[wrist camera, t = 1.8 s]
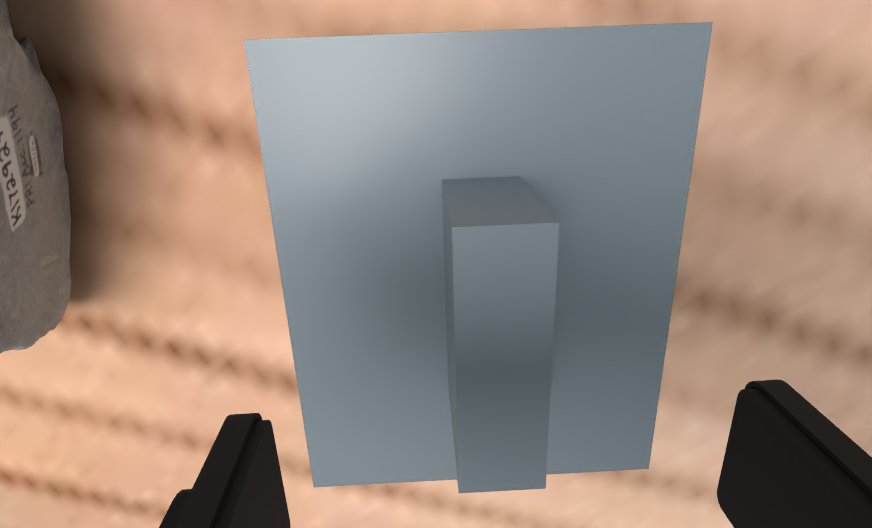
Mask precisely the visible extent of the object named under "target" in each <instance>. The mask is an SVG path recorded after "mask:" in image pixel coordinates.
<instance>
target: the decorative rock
mask: <svg viewBox="0 0 872 528" xmlns="http://www.w3.org/2000/svg"><path fill="white" fill-rule="evenodd" d="M70 231H71V215H70V202H69V186H68V176H67V172H66V170H65V164H64V155H63V131H62V124H61V118H60V112H59V108H58V105H57V100H56V98H55V96H54V94H53V92H52V90H51V88H50V85H49V83H48V82H47V80H46V78H45V77H44V75H43V74H42V72H41V71H40V66H39V62H38V58H37V54H36V52H35V50H34V48H33V45H32V43H31V41H30V39H29V38H22V39H18V38H16V37H15V36H13V32H12V27H11V21H10V15H9V8H8V0H0V353H1V352H3V351H8V350H21V349H26V348H28V347H30V346H32V345H33V344H34V343H35V342H36V341H37V340H38V339H39V338H41V337H43V336H45V335H46V334H47V333H48V332H49V331H50V330H52V329H55V327H56V326H57V325H58V323H59V322H60V321H61V320H62V317H63V315H64V313H65V310H66V308H67V305H68V301H69V297H70V292H71V276H70V262H69V255H70Z"/></svg>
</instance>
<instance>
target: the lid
mask: <svg viewBox="0 0 872 528" xmlns="http://www.w3.org/2000/svg"><path fill="white" fill-rule="evenodd" d="M712 23H713V22H703V23H676V24H649V25H623V26H596V27H570V28H543V29H517V30H490V31H463V32H437V33H410V34H384V35H357V36H331V37H304V38H278V39H251V40H244V45H245V51H246V58H247V64H248V71H249V77H250V83H251V90H252V96H253V102H254V109H255V115H256V122H257V128H258V134H259V141H260V147H261V154H262V160H263V166H264V173H265V179H266V185H267V192H268V198H269V205H270V211H271V217H272V224H273V230H274V237H275V243H276V249H277V256H278V262H279V268H280V275H281V281H282V288H283V294H284V300H285V307H286V313H287V319H288V326H289V332H290V339H291V345H292V351H293V358H294V364H295V371H296V377H297V383H298V390H299V396H300V402H301V409H302V415H303V422H304V428H305V434H306V441H307V447H308V454H309V460H310V466H311V473H312V479H313V485H314V487H328V486H346V485H364V484H382V483H400V482H418V481H436V480H454V479H457V480H458V490H459V493H472V492H490V491H508V490H526V489H544V488H545V487H546V474H563V473H581V472H599V471H617V470H635V469H649V462H650V455H651V448H652V441H653V434H654V427H655V420H656V413H657V406H658V399H659V392H660V385H661V378H662V371H663V364H664V357H665V350H666V343H667V337H668V330H669V323H670V316H671V309H672V302H673V295H674V288H675V281H676V274H677V267H678V260H679V253H680V246H681V239H682V232H683V225H684V218H685V211H686V204H687V197H688V190H689V183H690V176H691V169H692V162H693V155H694V148H695V141H696V135H697V128H698V121H699V114H700V107H701V100H702V93H703V86H704V79H705V72H706V65H707V58H708V51H709V44H710V37H711V30H712Z"/></svg>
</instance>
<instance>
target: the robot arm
mask: <svg viewBox="0 0 872 528" xmlns="http://www.w3.org/2000/svg"><path fill="white" fill-rule="evenodd" d="M717 497H718V501H719V504H720V507H721V509H722V510H723V512H724V513H725V515H726V516H727V518H728V519H729V521H730V522H731V524H732V525H733V526H734V528H872V457H871V456H869V455H868V454H867V453H866V452H865V451H864V450H863V449H861V448H860V447H859V446H858V445H857V444H856V443H855V442H853V441H852V440H851V439H850V438H849V437H848V436H847V435H845V434H844V433H843V432H842V431H841V430H840V429H839V428H837V427H836V426H835V425H834V424H833V423H832V422H831V421H829V420H828V419H827V418H826V417H825V416H824V415H823V414H822V413H820V412H819V411H818V410H817V409H816V408H815V407H814V406H812V405H811V404H810V403H809V402H808V401H807V400H806V399H804V398H803V397H802V396H801V395H800V394H799V393H798V392H796V391H795V390H794V389H793V388H792V387H791V386H790V385H788V384H787V383H786V382H784V381H783V380H764V381H752V382H749V383H748V384H747V385H746V387H745V389H743V390H741V391H740V392H739V394H738V397H737V401H736V406H735V411H734V415H733V420H732V424H731V429H730V433H729V438H728V443H727V447H726V452H725V456H724V461H723V466H722V470H721V475H720V479H719V484H718V489H717ZM159 528H290V519H289V513H288V508H287V503H286V497H285V492H284V487H283V481H282V476H281V471H280V466H279V460H278V455H277V450H276V444H275V439H274V434H273V428H272V424H271V422H270V420H262V417H261V415H260V414H259V413H250V414H234V415H229V416H227V418H226V419H225V421H224V423H223V425H222V427H221V430H220V432H219V434H218V436H217V438H216V440H215V442H214V444H213V446H212V448H211V450H210V453H209V455H208V457H207V459H206V461H205V463H204V465H203V467H202V469H201V471H200V473H199V475H198V478H197V480H196V482H195V484H194V486H193V488H192V489H186V490H181V491H180V492H179V493H177V495H176V496H175V498H174V500H173V501H172V503H171V505H170V507H169V509H168V511H167V513H166V515H165V517H164V519H163V521H162V523H161V525H160V527H159Z"/></svg>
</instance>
